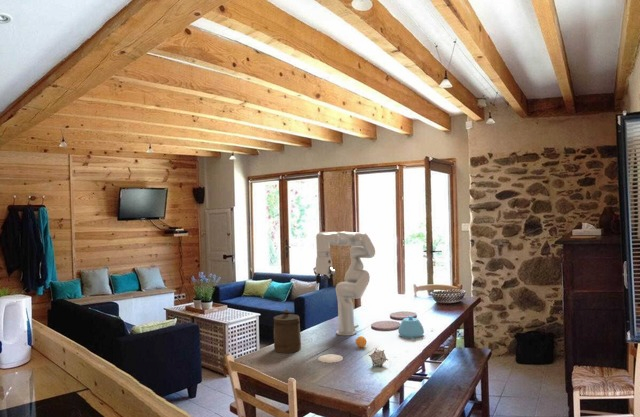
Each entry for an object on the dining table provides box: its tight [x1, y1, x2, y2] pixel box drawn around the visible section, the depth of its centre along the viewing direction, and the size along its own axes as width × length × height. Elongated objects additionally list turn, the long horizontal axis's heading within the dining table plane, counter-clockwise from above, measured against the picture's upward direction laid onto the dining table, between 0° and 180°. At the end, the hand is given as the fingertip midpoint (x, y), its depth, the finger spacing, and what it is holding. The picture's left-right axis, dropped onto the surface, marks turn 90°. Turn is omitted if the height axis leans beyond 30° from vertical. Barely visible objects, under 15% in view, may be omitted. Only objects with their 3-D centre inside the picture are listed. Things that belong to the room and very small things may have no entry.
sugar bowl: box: [398, 315, 425, 339], centre depth 289 cm, size 15×15×12 cm
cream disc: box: [317, 353, 344, 364], centre depth 251 cm, size 13×13×1 cm
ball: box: [355, 336, 367, 348], centre depth 269 cm, size 6×6×6 cm
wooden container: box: [273, 309, 302, 354], centre depth 270 cm, size 15×15×22 cm
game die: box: [368, 348, 389, 368], centre depth 238 cm, size 9×8×10 cm
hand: (324, 283), depth 281 cm, fingers open, 9 cm apart
